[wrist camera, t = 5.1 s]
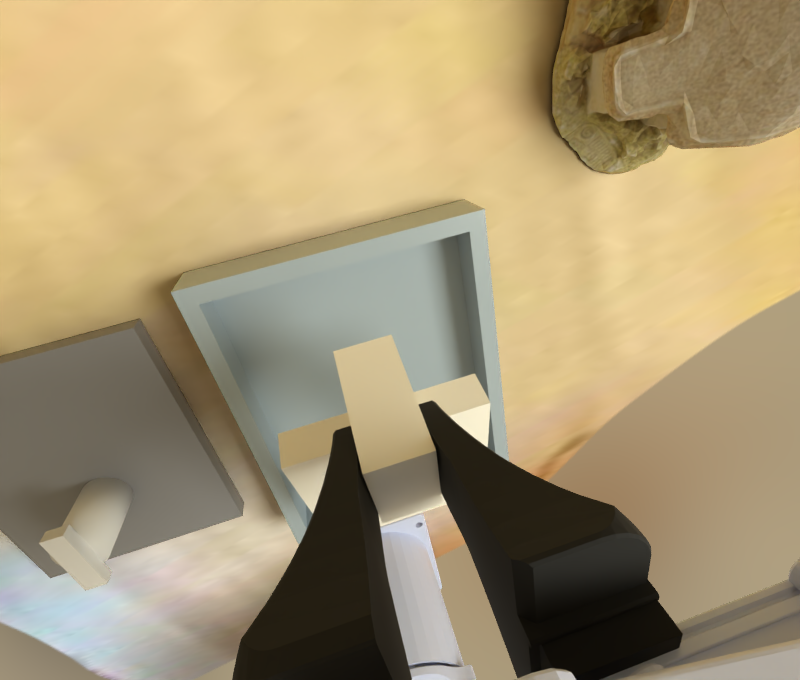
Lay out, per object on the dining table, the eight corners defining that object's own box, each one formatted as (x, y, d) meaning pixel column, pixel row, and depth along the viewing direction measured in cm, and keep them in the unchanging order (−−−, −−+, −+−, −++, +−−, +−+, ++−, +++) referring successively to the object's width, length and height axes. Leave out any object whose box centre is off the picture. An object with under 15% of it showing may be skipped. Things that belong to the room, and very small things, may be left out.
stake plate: (244, 502, 26) (235, 580, 22) (58, 562, 25) (10, 656, 21) (139, 318, 20) (98, 376, 16) (-116, 387, 19) (-238, 470, 14)
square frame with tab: (473, 465, 23) (511, 550, 20) (328, 513, 22) (344, 610, 19) (475, 310, 15) (541, 416, 12) (242, 377, 14) (246, 511, 11)
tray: (493, 446, 29) (510, 472, 27) (297, 510, 28) (298, 543, 26) (464, 199, 21) (484, 209, 19) (183, 272, 20) (170, 292, 17)
